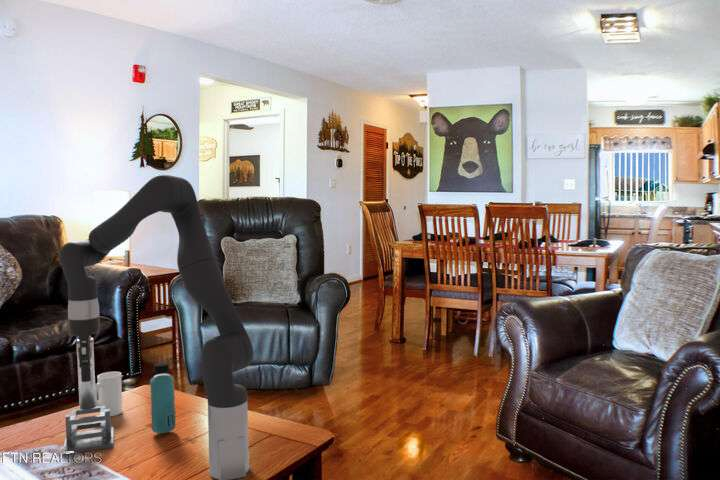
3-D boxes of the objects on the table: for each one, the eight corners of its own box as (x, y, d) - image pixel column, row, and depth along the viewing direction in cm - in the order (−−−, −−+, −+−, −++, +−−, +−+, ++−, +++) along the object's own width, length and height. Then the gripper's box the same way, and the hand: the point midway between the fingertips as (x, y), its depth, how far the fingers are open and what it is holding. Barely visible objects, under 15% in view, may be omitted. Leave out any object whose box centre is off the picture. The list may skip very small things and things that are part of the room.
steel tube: (95, 408, 156) (93, 342, 155) (78, 410, 154) (75, 343, 153) (96, 403, 160) (93, 338, 158) (80, 405, 158) (76, 340, 157)
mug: (109, 408, 184) (108, 370, 183) (127, 410, 181) (126, 372, 181) (85, 419, 174) (83, 380, 173) (104, 422, 172) (102, 382, 171)
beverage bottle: (168, 439, 159) (166, 367, 158) (146, 437, 161) (144, 366, 159) (180, 430, 166) (178, 360, 164) (159, 428, 167) (156, 359, 165)
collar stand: (113, 447, 154) (112, 417, 154) (62, 455, 150) (61, 424, 149) (113, 430, 166) (112, 402, 165) (66, 437, 161) (65, 408, 160)
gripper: (98, 319, 150) (101, 385, 151) (100, 309, 163) (102, 370, 164) (65, 322, 147) (69, 388, 149) (70, 312, 160) (73, 373, 162)
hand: (86, 378), depth 156 cm, fingers closed on steel tube, 4 cm apart
